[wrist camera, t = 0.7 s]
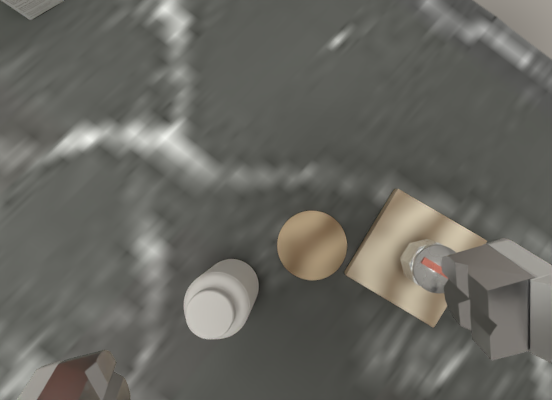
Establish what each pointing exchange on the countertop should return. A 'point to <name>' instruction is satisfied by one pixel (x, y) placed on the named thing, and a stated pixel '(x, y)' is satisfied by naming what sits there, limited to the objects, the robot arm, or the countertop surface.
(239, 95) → the countertop surface
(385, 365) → the countertop surface
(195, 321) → the pill bottle
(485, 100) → the countertop surface
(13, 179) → the countertop surface
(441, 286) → the cap
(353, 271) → the post stand
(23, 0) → the skincare box
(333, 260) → the coaster
